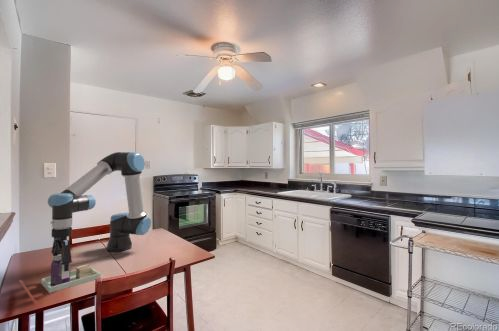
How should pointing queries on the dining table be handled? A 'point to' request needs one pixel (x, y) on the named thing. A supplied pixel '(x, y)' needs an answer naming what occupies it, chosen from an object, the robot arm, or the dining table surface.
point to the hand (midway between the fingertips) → (60, 273)
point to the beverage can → (57, 272)
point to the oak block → (83, 271)
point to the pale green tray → (73, 281)
